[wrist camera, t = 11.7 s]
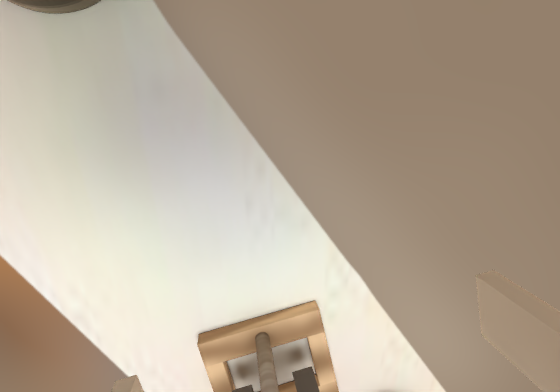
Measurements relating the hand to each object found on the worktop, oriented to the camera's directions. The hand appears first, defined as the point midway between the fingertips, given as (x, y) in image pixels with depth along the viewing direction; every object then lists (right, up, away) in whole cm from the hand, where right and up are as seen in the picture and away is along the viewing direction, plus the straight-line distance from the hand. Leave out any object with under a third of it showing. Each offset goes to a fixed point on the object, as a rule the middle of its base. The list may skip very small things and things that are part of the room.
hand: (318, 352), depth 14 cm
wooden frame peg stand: (-3, -14, +31) cm, 34 cm away
